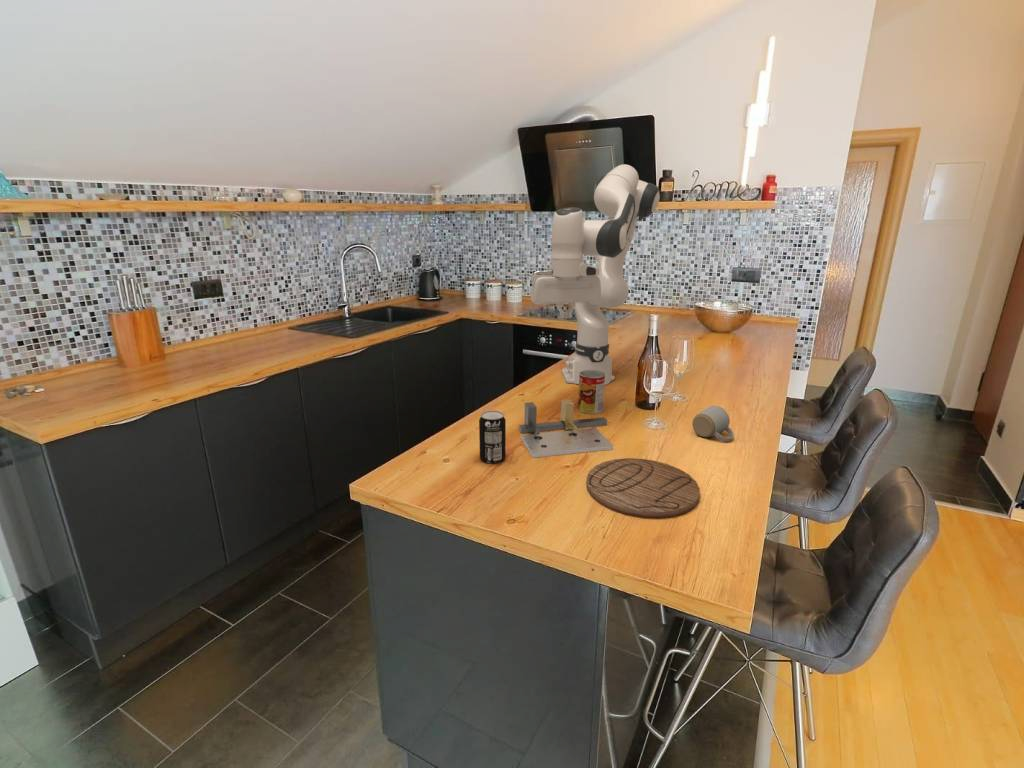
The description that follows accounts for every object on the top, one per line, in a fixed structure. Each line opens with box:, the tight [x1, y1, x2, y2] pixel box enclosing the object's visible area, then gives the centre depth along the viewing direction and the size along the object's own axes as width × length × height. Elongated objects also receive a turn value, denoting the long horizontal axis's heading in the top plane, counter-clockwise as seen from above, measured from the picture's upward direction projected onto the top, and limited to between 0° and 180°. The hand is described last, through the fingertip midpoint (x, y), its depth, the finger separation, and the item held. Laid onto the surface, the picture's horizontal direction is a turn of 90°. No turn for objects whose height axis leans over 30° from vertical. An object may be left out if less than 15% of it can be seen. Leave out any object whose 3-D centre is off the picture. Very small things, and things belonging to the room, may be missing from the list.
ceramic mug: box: [692, 405, 735, 443], centre depth 150 cm, size 11×8×8 cm
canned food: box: [577, 370, 605, 415], centre depth 168 cm, size 8×8×12 cm
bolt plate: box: [520, 427, 614, 459], centre depth 145 cm, size 12×22×1 cm, turn 103°
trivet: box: [585, 457, 701, 520], centre depth 122 cm, size 25×25×2 cm
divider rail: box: [518, 401, 608, 435], centre depth 152 cm, size 10×26×8 cm, turn 103°
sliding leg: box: [560, 398, 579, 431], centre depth 153 cm, size 10×2×8 cm, turn 13°
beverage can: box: [478, 410, 507, 464], centre depth 135 cm, size 7×7×12 cm
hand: (565, 318), depth 154 cm, fingers closed
